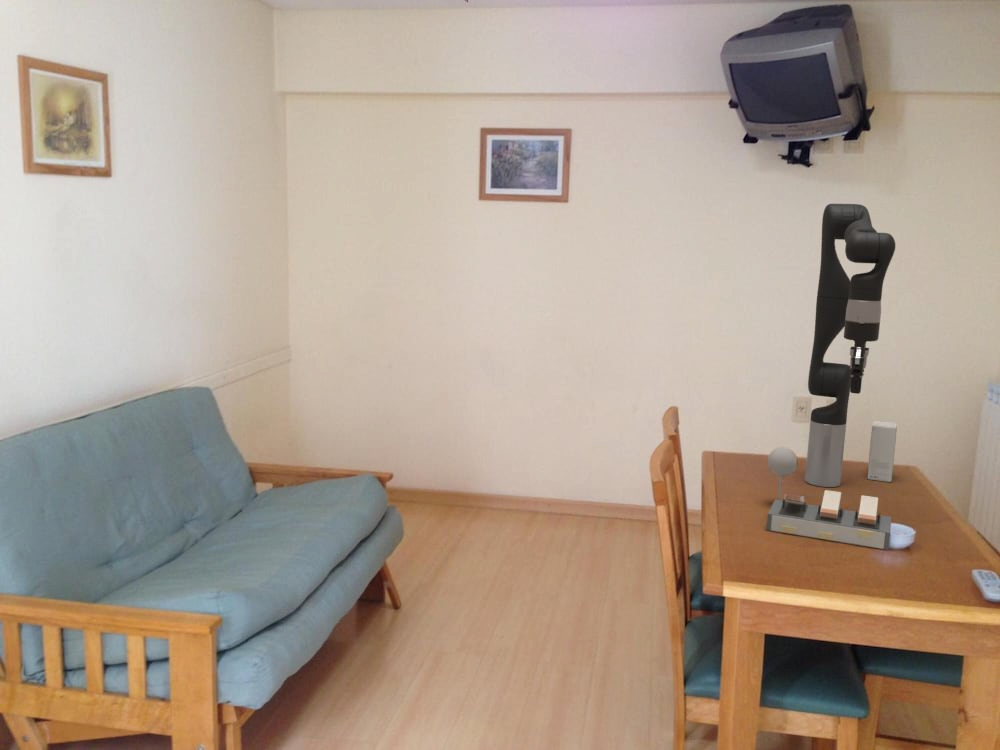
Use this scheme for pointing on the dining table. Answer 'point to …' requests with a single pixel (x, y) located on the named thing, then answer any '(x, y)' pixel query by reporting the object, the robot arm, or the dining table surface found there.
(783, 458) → the lollipop
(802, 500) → the switch
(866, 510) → the switch
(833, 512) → the switch
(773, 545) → the dining table surface
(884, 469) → the skincare box
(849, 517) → the switch unit
